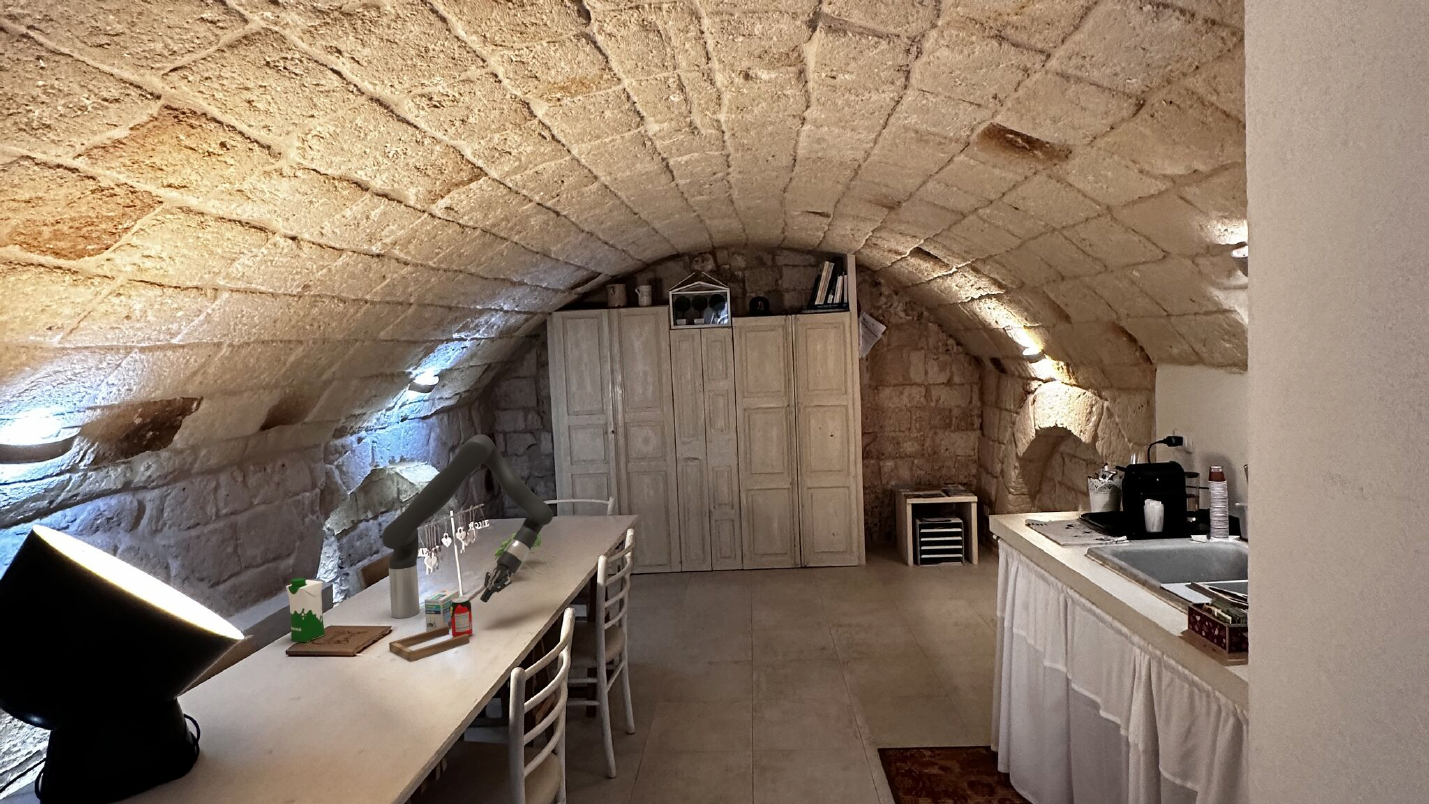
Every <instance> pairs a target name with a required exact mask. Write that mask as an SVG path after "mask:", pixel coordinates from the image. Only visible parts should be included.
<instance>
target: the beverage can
mask: <svg viewBox="0 0 1429 804" xmlns="http://www.w3.org/2000/svg"><path fill="white" fill-rule="evenodd" d="M450 610H451V636H452V638H455V637H458V636H461V635H464V634H469V637H470V636H471V635H472V634H473V633H474V631H473V616H472V615H473V614H472V612H473V611H472V602H471V601H470V599H469V597H467V596H459V598H455V599H453V600H452V604H451V606H450Z"/></svg>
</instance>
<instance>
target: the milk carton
mask: <svg viewBox="0 0 1429 804" xmlns="http://www.w3.org/2000/svg"><path fill="white" fill-rule="evenodd" d="M323 585H324V582H323V581H318V580H312V579H306V577H296V578H293V579H291V584H289V585H285V588H286V593H287V596H288V601H289V614H290V615H289V616H290V641H292V642H293V641H294V642H297V643H303V642H307V641H309V640H312V639H313V638H317V637H319V636H321V635H324V634H325V635H326V633H325V625H324V624H325V623H324V617H323V600H322V591H323ZM317 639H318V638H317ZM312 641H313V640H312ZM307 643H308V642H307Z"/></svg>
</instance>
